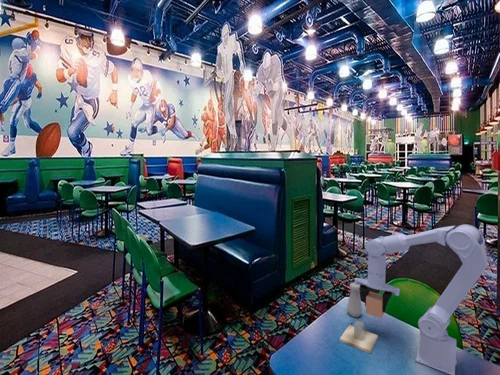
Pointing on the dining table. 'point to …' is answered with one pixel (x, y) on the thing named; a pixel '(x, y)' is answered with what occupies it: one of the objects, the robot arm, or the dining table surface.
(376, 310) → the orange tan block
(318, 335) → the dining table surface
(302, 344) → the dining table surface
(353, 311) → the salt shaker
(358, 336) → the steel post
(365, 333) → the birch board
